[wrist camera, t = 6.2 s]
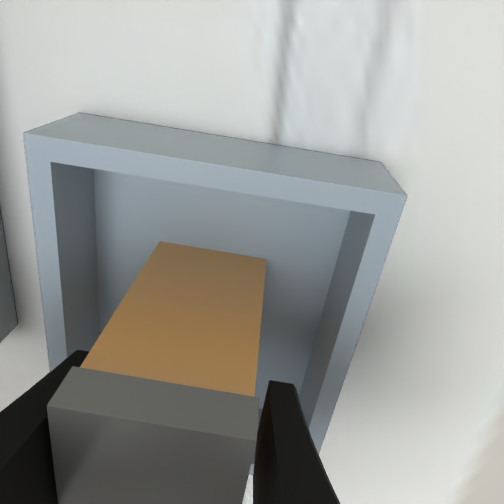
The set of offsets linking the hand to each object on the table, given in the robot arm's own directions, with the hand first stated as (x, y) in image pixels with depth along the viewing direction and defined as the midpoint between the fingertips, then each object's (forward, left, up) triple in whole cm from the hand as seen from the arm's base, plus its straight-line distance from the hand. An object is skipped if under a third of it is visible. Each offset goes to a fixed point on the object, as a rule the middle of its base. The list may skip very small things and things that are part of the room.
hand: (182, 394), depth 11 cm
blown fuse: (0, 0, -4) cm, 4 cm away
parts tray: (0, 0, -5) cm, 5 cm away
